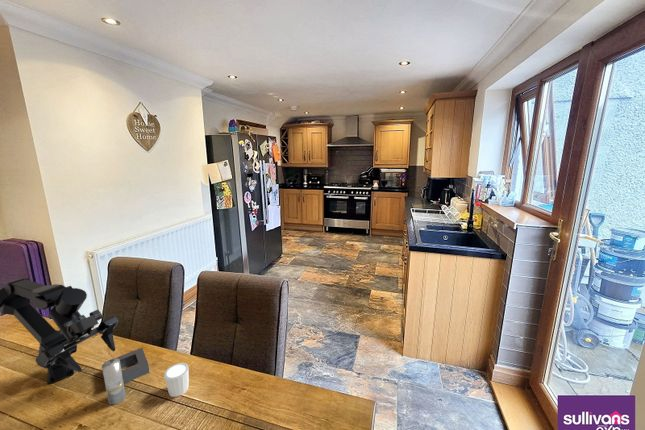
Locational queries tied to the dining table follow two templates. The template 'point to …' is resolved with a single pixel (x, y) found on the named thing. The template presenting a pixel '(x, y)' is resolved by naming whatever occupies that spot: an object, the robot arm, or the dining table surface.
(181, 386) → the white cylinder
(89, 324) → the robot arm
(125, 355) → the collar block
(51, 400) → the dining table surface
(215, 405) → the dining table surface
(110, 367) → the grey rounded cylinder
